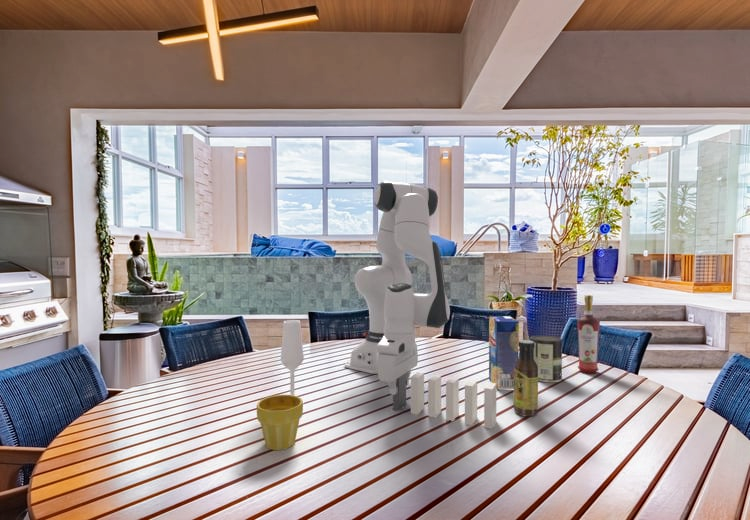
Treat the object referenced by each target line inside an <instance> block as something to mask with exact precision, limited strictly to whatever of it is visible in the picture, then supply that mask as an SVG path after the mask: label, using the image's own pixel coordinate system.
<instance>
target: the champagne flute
mask: <svg viewBox="0 0 750 520" xmlns="http://www.w3.org/2000/svg"><path fill="white" fill-rule="evenodd" d="M281 338H282V339H281V347H280V348H281V349H280V362H281V363H282V365H283V366H284V367H285V368H286V369H287V370H289V371H290V372H289V375H290V376H289V381H290V382H289V384H290V386H289V387H290V389H289V390H290V393H289V395H294V396H296V395H295V370H297V368H299V366H300V365H301V364H302V363H303V361H304V359H305V356H304V347H303V346H304V345H303V337H302V327H301V321H300V320H297V319H296V320H295V319H292V320H291V319H289V320H284V321H283V327H282V337H281ZM302 401H303V404H304V403H305V402H304V400H303V399H302Z"/></svg>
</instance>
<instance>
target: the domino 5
mask: <svg viewBox="0 0 750 520" xmlns="http://www.w3.org/2000/svg"><path fill="white" fill-rule="evenodd" d="M477 419H478V380H474V379H469V380H468V381H467V382H466V383H465V384H464V424H465V425H469V424H470V425H471V426H473V425H474V423H475V422H476V420H477Z"/></svg>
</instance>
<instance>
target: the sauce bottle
mask: <svg viewBox="0 0 750 520" xmlns="http://www.w3.org/2000/svg"><path fill="white" fill-rule="evenodd" d="M534 347H535V346H534V342H533V341H531V339H530V340H529V339H520V340H519V354H518V360H517V362H516V363H515V367H514V390H513V405H514V406H513V407H514V408H513V409H514V412H515V413H517V414H518V415H520V416H522V417H523V416H525V417H535V416H536V415H537V413H538V405H539V404H538V403H539V402H538V401H539V381H538V366H537V364H536V362H535V361H534V359H533V358H534Z"/></svg>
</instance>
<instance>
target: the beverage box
mask: <svg viewBox="0 0 750 520" xmlns="http://www.w3.org/2000/svg"><path fill="white" fill-rule="evenodd" d="M488 317H489V324H488V325H489V327H488V331H489V333H488V337H489V338H488V343H489V344H488V380H489V381H490V383H491V382H492V383H496V389H514V367H515V363H516V362H517V360H518V359H519V341H520V340H519V338H520V336H519V334H520V331H519V330H520V328H519V323H520V321H518V320H517V319H515V318H514V317H512V316H509V315H505V316H502V315H495V316H494V315H489V316H488Z"/></svg>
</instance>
